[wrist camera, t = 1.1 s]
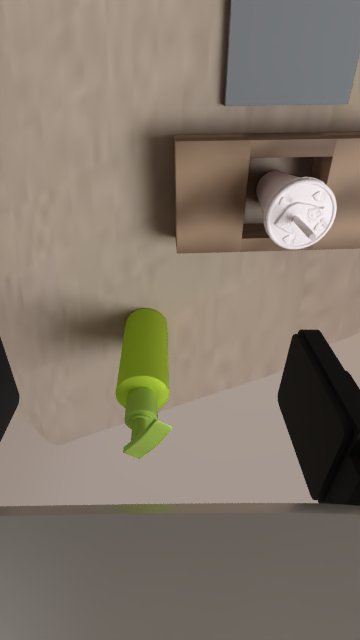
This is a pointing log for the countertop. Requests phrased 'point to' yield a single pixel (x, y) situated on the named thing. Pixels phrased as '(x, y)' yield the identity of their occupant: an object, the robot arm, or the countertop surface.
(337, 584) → the robot arm
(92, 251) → the countertop surface
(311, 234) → the smoothie
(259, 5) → the mat
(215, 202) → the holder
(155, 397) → the soap dispenser
